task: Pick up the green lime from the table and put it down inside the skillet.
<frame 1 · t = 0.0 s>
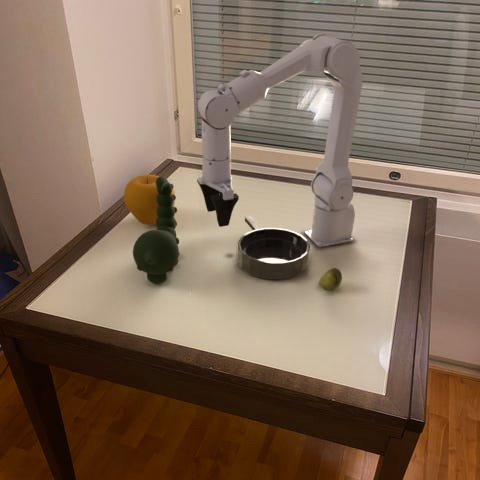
hand: (217, 217, 109), 10 cm above the table, tool pointing down, fingers open, 7 cm apart
toy figurine: (162, 266, 112), on the table
skillet: (272, 262, 114), on the table
apple: (152, 221, 130), on the table
lime: (329, 289, 106), on the table
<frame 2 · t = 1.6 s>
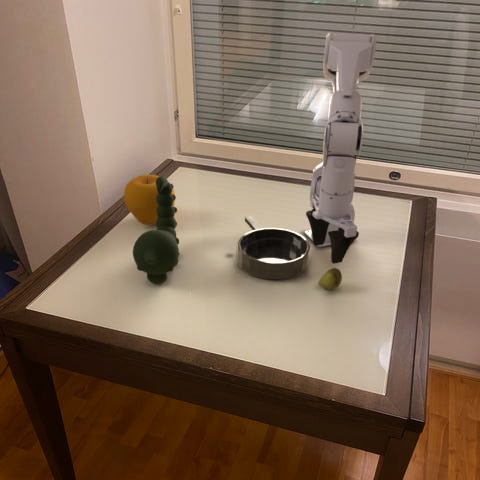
hand: (327, 253, 101), 8 cm above the table, tool pointing down, fingers open, 7 cm apart
nothing on the table moved.
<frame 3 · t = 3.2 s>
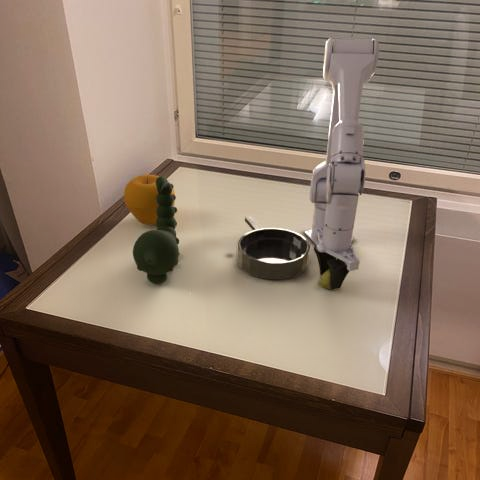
hand: (330, 282, 105), 1 cm above the table, tool pointing down, fingers closed on lime, 3 cm apart
lime: (328, 288, 106), on the table, touching gripper
everything else where it was.
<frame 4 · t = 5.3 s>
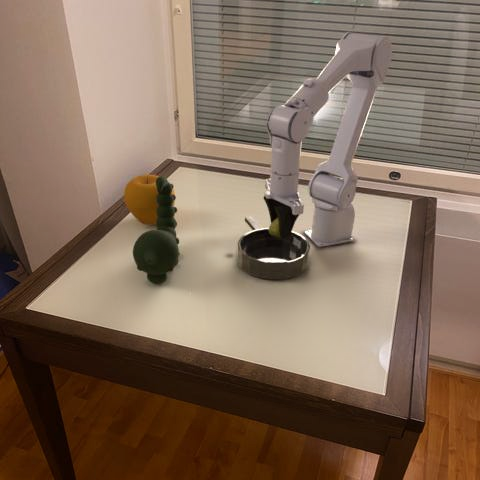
hand: (280, 231, 108), 8 cm above the table, tool pointing down, fingers closed on lime, 3 cm apart
lime: (279, 237, 109), point 7 cm above the table, touching gripper
everything else where it was.
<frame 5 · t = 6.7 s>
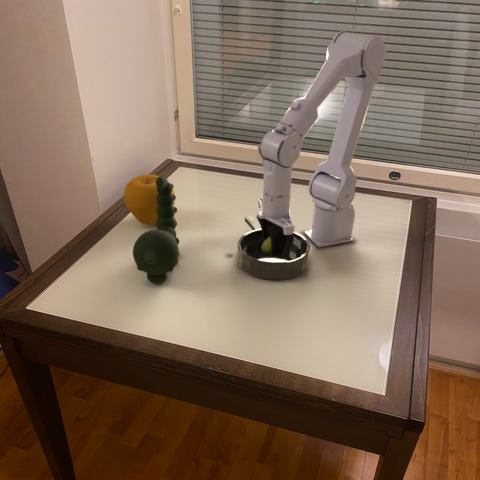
hand: (273, 249, 112), 3 cm above the table, tool pointing down, fingers closed on lime, 3 cm apart
lime: (272, 254, 113), point 2 cm above the table, touching gripper
everything else where it was.
when the fingers open (2 cm above the table, at t = 7.6 s): lime stays where it is, resting on skillet.
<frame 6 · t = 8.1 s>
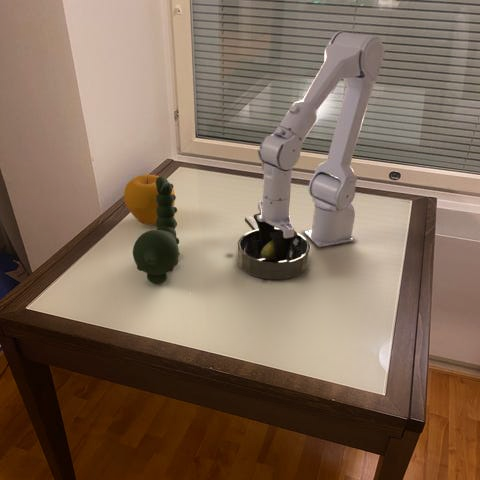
hand: (273, 252, 113), 3 cm above the table, tool pointing down, fingers open, 7 cm apart
lime: (272, 260, 114), resting on skillet
everything else where it was.
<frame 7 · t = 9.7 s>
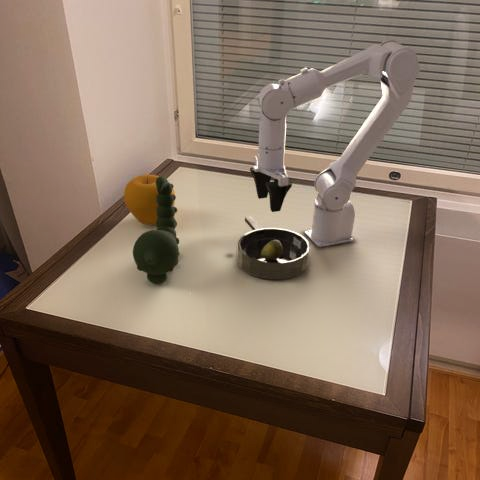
hand: (268, 204, 117), 9 cm above the table, tool pointing down, fingers open, 7 cm apart
nothing on the table moved.
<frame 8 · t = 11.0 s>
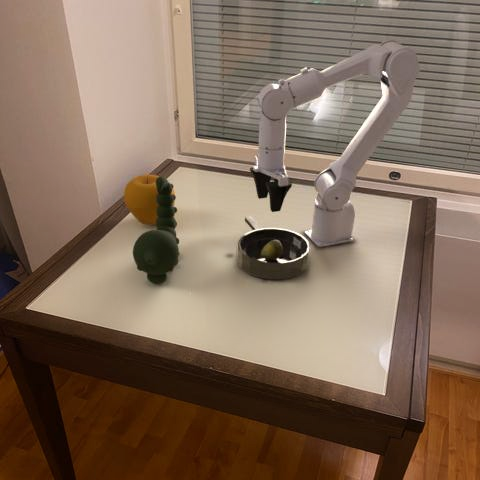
hand: (268, 204, 117), 9 cm above the table, tool pointing down, fingers open, 7 cm apart
nothing on the table moved.
at the end: lime inside the target area in the skillet (0.3 cm from its centre), point 0.3 cm above the skillet's base; the gripper is holding nothing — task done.
